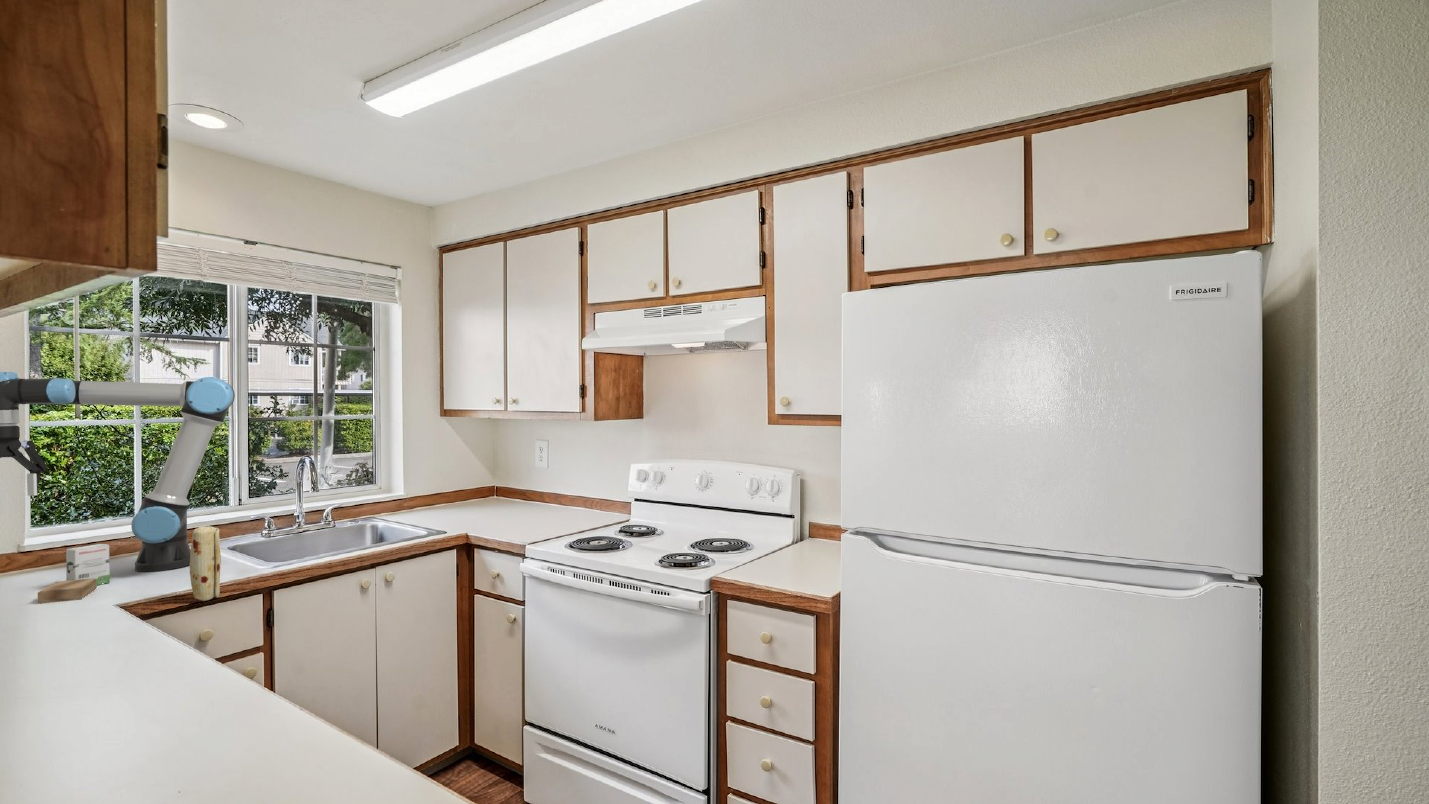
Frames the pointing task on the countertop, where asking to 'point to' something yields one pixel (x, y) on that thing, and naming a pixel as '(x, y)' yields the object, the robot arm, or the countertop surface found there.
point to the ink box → (88, 563)
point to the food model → (205, 563)
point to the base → (67, 590)
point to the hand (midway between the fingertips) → (3, 499)
